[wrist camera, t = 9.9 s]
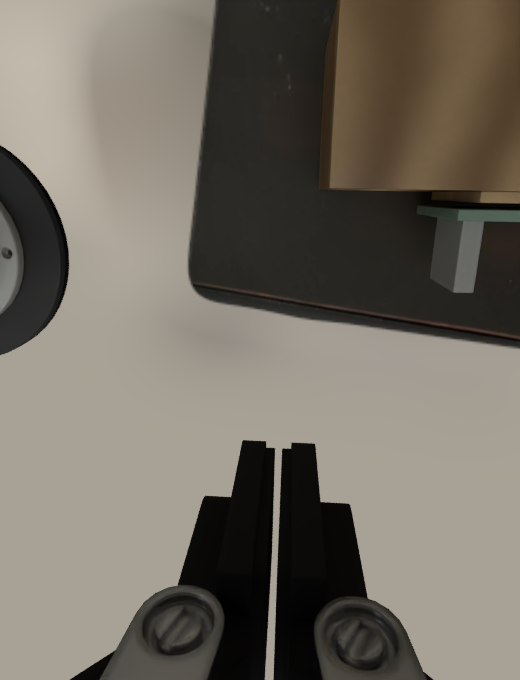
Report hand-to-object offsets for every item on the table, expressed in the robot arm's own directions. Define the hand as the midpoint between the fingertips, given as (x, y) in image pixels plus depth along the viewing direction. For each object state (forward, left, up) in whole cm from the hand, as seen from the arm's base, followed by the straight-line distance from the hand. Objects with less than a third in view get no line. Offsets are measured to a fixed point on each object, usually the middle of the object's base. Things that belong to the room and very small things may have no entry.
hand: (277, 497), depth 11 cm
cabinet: (+10, +12, -27) cm, 31 cm away
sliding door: (+13, +4, -26) cm, 29 cm away
